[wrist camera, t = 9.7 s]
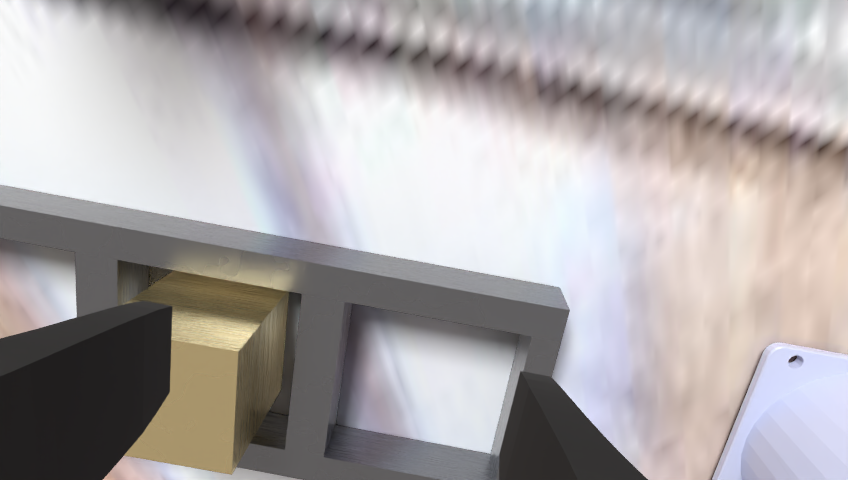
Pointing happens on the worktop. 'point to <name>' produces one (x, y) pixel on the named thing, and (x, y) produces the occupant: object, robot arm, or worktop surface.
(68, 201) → the grey compartment tray
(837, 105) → the worktop surface
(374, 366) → the worktop surface
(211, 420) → the tan rectangular block
